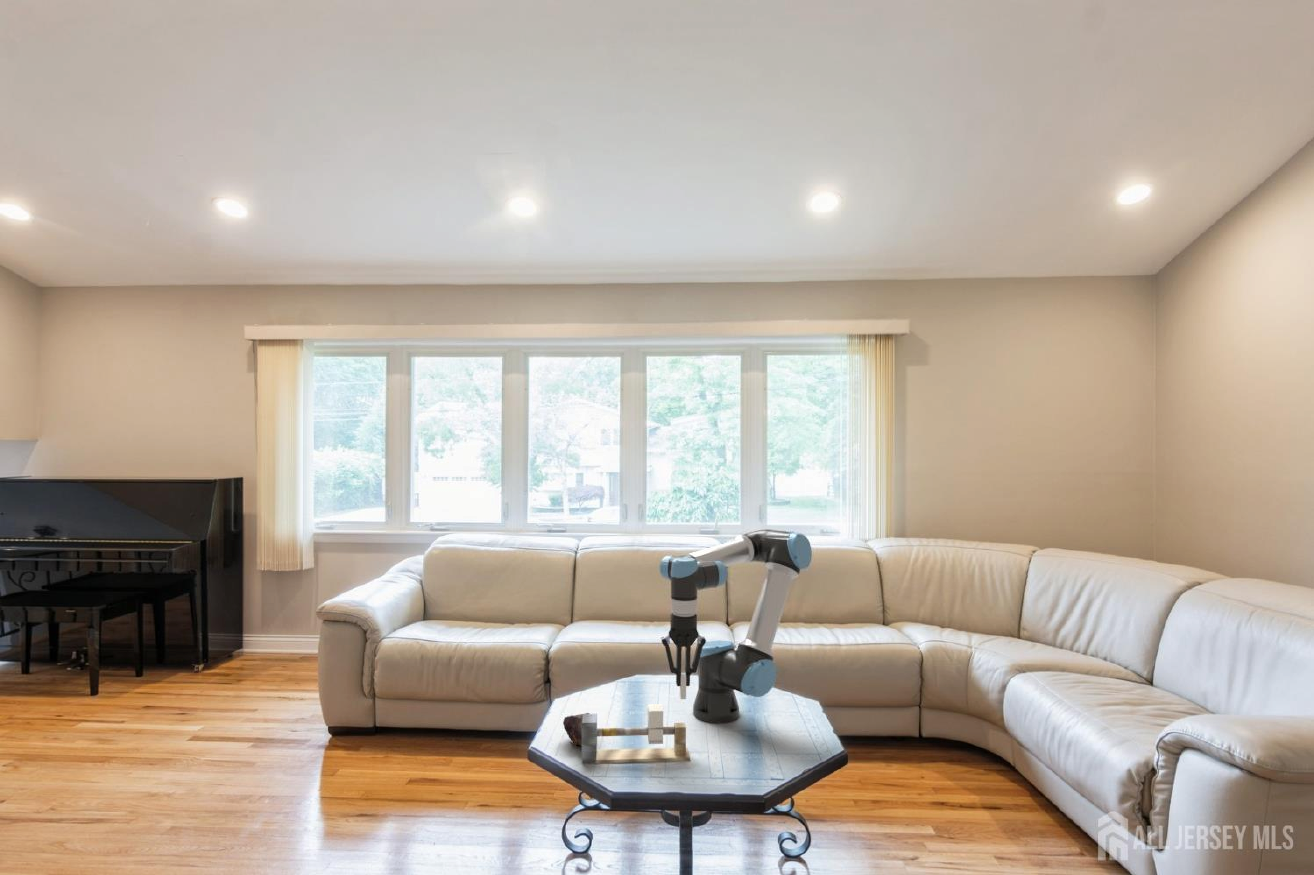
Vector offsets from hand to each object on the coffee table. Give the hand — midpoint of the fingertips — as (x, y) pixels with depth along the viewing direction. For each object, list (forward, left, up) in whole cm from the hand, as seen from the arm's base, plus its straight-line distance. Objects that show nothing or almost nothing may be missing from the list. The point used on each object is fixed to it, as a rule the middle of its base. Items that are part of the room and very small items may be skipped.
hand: (682, 697), depth 176 cm
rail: (+13, 0, -16) cm, 21 cm away
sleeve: (+8, 0, -12) cm, 14 cm away
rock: (+29, -10, -17) cm, 35 cm away
